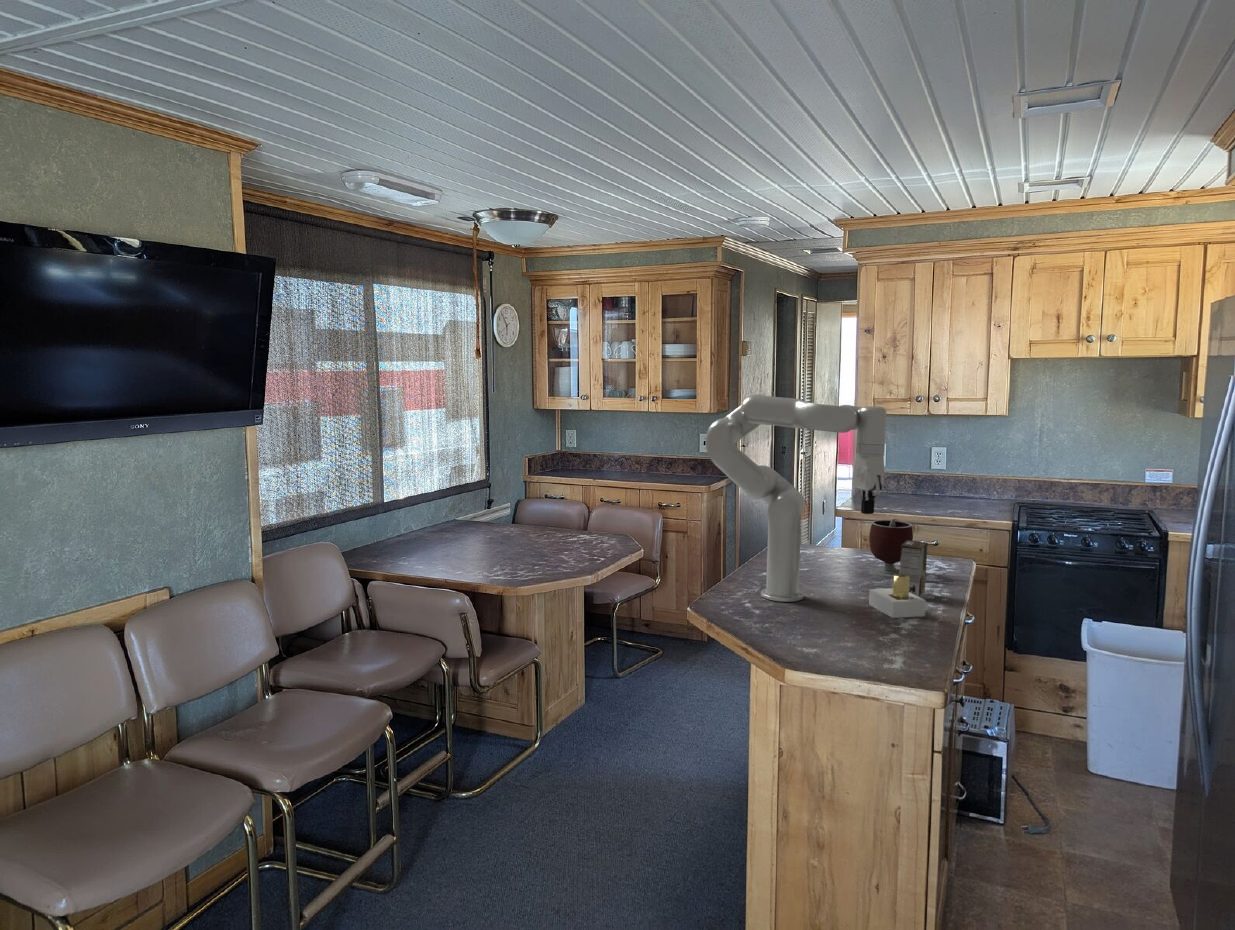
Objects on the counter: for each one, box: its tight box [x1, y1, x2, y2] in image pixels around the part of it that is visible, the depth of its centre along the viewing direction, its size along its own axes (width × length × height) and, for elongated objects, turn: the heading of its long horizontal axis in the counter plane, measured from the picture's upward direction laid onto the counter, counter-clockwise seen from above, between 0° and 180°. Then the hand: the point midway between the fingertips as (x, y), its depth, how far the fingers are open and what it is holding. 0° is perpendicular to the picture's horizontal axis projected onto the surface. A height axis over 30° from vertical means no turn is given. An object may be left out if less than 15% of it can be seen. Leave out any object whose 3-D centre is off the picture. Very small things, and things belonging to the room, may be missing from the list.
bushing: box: [892, 574, 910, 600], centre depth 235 cm, size 4×4×9 cm
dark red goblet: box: [868, 519, 914, 579], centre depth 278 cm, size 16×14×20 cm
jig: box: [868, 587, 927, 619], centre depth 237 cm, size 13×10×4 cm
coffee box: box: [899, 540, 928, 598], centre depth 252 cm, size 9×6×16 cm
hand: (867, 513), depth 239 cm, fingers closed
